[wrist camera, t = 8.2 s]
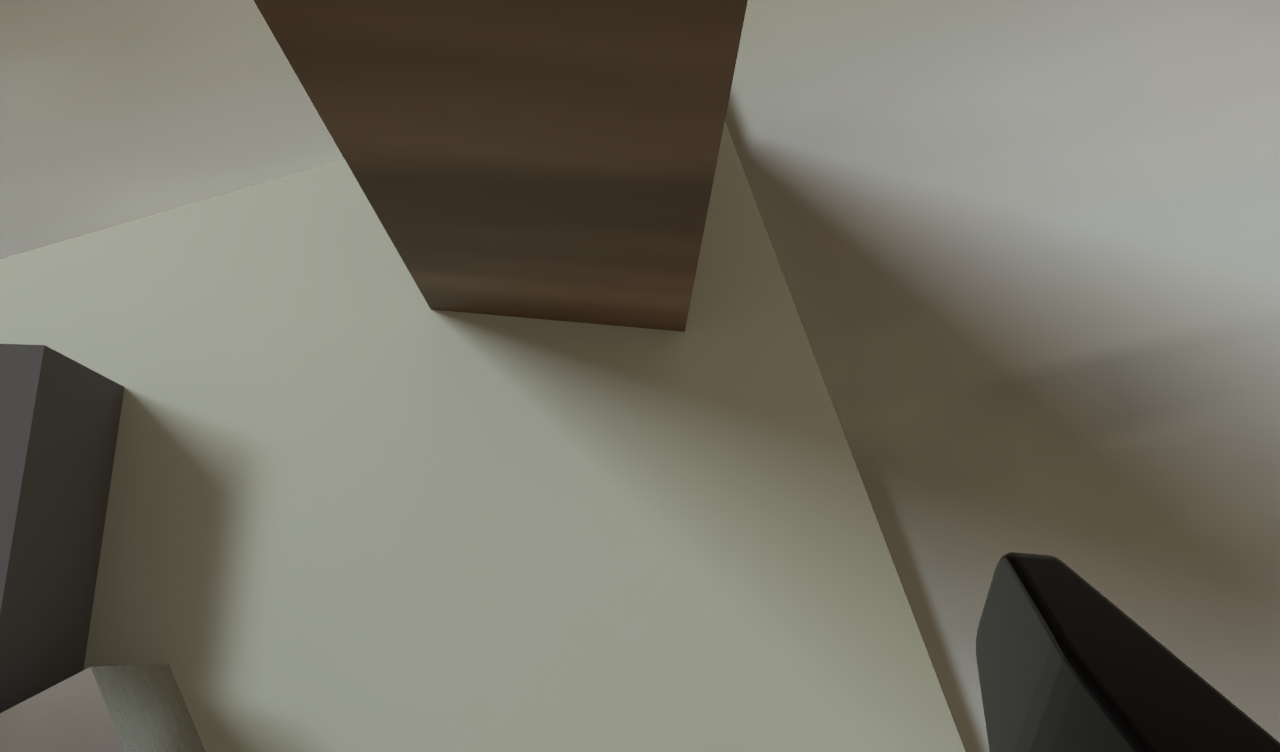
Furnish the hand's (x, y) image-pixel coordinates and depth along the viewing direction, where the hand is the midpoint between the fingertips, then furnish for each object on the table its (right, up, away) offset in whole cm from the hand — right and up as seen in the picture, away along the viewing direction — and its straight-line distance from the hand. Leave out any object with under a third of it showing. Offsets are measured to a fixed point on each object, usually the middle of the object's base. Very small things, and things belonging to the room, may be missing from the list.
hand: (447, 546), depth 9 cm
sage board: (-3, -2, +9) cm, 9 cm away
